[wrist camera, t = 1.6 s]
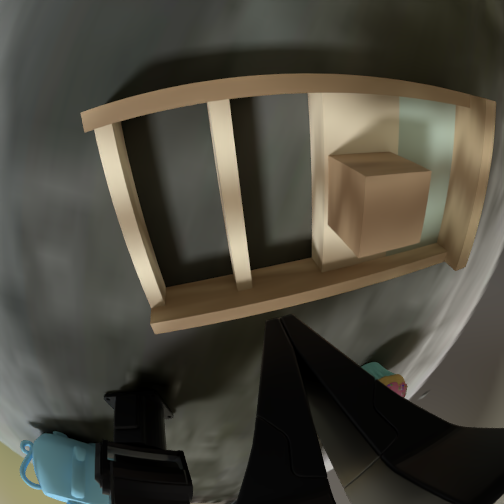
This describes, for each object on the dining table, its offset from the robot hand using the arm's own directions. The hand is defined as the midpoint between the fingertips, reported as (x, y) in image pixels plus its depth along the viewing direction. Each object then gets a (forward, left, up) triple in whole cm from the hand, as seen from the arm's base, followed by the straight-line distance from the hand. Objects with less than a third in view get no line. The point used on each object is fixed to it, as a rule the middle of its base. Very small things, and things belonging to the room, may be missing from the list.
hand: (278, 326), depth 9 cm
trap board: (0, -6, -11) cm, 13 cm away
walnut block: (0, -8, -9) cm, 12 cm away
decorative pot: (-36, +33, -11) cm, 50 cm away
